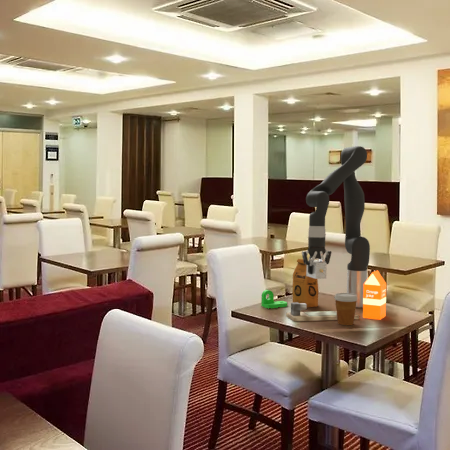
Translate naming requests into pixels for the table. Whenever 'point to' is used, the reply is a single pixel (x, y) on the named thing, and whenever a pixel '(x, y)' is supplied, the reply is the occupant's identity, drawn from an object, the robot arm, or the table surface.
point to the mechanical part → (271, 300)
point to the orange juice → (374, 297)
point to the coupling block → (318, 270)
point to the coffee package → (304, 286)
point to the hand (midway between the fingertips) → (316, 273)
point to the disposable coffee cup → (345, 308)
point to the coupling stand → (310, 313)
